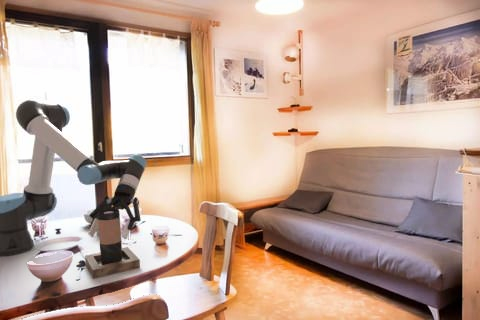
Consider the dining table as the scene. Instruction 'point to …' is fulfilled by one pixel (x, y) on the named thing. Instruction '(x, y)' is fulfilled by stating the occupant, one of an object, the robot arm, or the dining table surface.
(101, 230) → the travel mug
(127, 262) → the walnut collar
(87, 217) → the cereal bowl
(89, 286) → the dining table surface
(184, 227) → the dining table surface
